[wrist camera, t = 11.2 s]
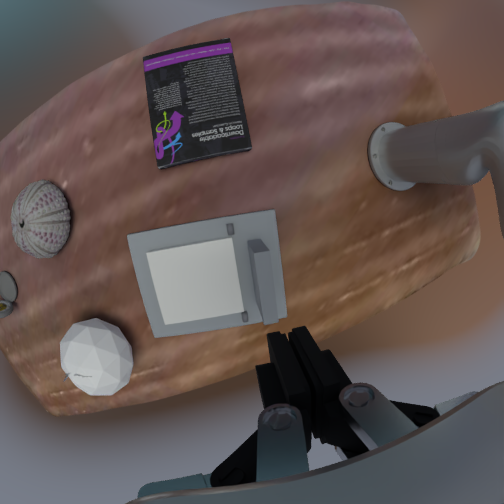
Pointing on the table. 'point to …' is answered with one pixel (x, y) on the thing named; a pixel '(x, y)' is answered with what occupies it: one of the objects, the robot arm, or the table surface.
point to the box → (195, 103)
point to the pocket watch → (7, 293)
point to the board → (247, 261)
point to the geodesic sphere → (96, 357)
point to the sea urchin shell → (40, 219)
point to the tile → (196, 280)
